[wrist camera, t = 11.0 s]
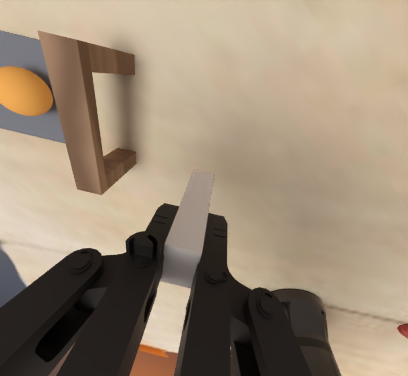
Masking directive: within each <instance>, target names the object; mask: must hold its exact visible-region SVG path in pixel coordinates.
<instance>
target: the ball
mask: <svg viewBox="0 0 408 376" xmlns="http://www.w3.org/2000/svg"><path fill="white" fill-rule="evenodd" d="M0 103H1V104H2V105H3V106H5V107H6V108H8V109H9V110H11V111H13V112H15V113H18V114H21V115H25V116H39V115H42V114H44V113H46V112H47V111H49V109H50V108H51V106H52V103H53V96H52V93H51V90H50V89H49V87H48V85H47V84H46V83H45V82H44V81H43V80H42V79H41V78H40V77H39V76H37V75H36V74H34V73H33V72H31V71H29V70H26V69H24V68H20V67H16V66H4V67H1V68H0Z"/></svg>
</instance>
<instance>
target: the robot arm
mask: <svg viewBox="0 0 408 376" xmlns="http://www.w3.org/2000/svg"><path fill="white" fill-rule="evenodd" d="M213 180H214V175H212V174H208V173H204V172H200V171H195V170H194V171H193V173H192V176H191V178H190V181H189V183H188V186H187V188H186V191H185V194H184V196H183V199H182V201H181V204H180V206H174V205H170V204H166V203H164V204H163V205H161V206H160V207H159V208H158V209H157V211H156V213H155V214H154V216H153V218H152V220H151V222H150V223H149V225H148V227H147V229H146V231H143V232H138V233H135V234H133V235H131V236H130V237H129V238H128V239H127V240H126V253H123V254H118V255H105V256H101V253H100V252H99V251H98V250H96V249H92V248H84V249H80V250H77V251H74V252H73V253H71V254H69V255H68V256H66V257H65V258H64V259H62V260H61V261H60V262H59V263H57V264H56V265H55V266H53V267H52V268H51V269H50V270H48V271H47V272H46V273H45V274H43V275H42V276H41V277H39V278H38V279H37V280H36V281H34V282H33V283H32V284H30V285H29V286H28V287H27V288H25V289H24V290H23V291H22V292H20V293H19V294H18V295H16V296H15V297H14V298H13V299H11V300H10V301H9V302H7V303H6V304H5V305H4V306H2V307H1V308H0V376H48V375H49V374H50V373H51V371H52V370H53V369H54V368H55V367H56V365H57V364H58V363H59V362H60V360H61V359H62V358H63V357H64V355H65V354H66V353H67V352H68V350H69V349H70V348H71V347H72V345H73V344H74V343H75V342H76V343H75V344H74V346H73V348H72V350H71V351H70V353H69V355H68V356H67V358H66V360H65V361H64V363H63V365H62V367H61V368H60V370H59V372H58V374H57V375H56V376H129V375H130V372H131V369H132V366H133V363H134V360H135V357H136V354H137V351H138V348H139V345H140V342H141V339H142V336H143V333H144V330H145V327H146V324H147V321H148V318H149V315H150V312H151V310H152V307H153V304H154V301H155V298H156V294H157V288H158V285H159V282H160V279H161V281H162V282H166V283H170V284H175V285H179V286H183V287H187V288H191V292H190V297H189V300H188V303H187V307H186V315H185V320H184V325H183V331H182V336H181V341H180V347H179V352H178V357H177V363H176V368H175V373H174V376H341V373H340V371H339V368H338V365H337V363H336V360H335V358H334V355H333V352H332V350H331V347H330V344H329V341H328V331H327V321H326V312H325V309H324V307H323V304H322V302H321V300H320V299H319V298H318V297H317V296H316V295H314V294H312V293H309V292H306V291H302V290H294V289H286V290H278V291H274V292H271V291H269V290H267V289H265V288H260V287H259V288H255V289H253V290H251V289H249V288H248V287H246V286H244V285H242V284H241V283H239V282H238V281H237V280H235V279H234V278H233V276H232V275H231V274H230V272H229V270H228V267H227V222H226V220H225V218H224V217H223V216H219V215H215V214H211V213H208V212H209V205H210V199H211V193H212V186H213ZM230 345H231V350H230Z"/></svg>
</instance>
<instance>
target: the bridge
mask: <svg viewBox="0 0 408 376" xmlns="http://www.w3.org/2000/svg"><path fill="white" fill-rule="evenodd" d="M38 34H39V38H40V42H41V46H42V50H43V54H44V58H45V62H46V66H47V70H48V74H49V78H50V82H51V86H52V90H53V94H54V98H55V102H56V106H57V110H58V114H59V118H60V122H61V126H62V130H63V134H64V138H65V142H66V146H67V150H68V154H69V158H70V162H71V166H72V170H73V174H74V178H75V182H76V186H77V189H78V190H82V191H87V192H91V193H95V194H99V195H102V194H103V193H104V192H105V191H107V190H108V189H109V188H110V187H111V186H112V185H113V184H114V183H115V182H117V181H118V180H119V179H120V178H121V177H122V176H123V175H124V174H125V173H127V172H128V171H129V170H130V169H131V168H132V167H133V166H134V165H135V164H136V152H132V151H128V150H124V149H120V148H117V149H115V150H114V151H112V152H110V153H109V154H107V155H105V156H104V157H103V152H102V145H101V137H100V130H99V122H98V115H97V107H96V100H95V92H94V85H93V77H92V72H96V73H114V74H132V75H135V73H134V55H132V54H128V53H125V52H121V51H117V50H113V49H109V48H106V47H102V46H98V45H94V44H90V43H87V42H83V41H79V40H75V39H71V38H67V37H62V36H58V35H54V34H50V33H46V32H41V31H38Z"/></svg>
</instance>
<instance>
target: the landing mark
mask: <svg viewBox="0 0 408 376" xmlns="http://www.w3.org/2000/svg"><path fill="white" fill-rule="evenodd" d="M4 66H16V67H20V68H24V69H26V70H29V71H31V72H33V73H34V74H36V75H37V76H39V77H40V78H41V79H42V80H43V81H44V82H45V83H46V84H47V85H48V87H49V89H50V90H51V93H52V96H53V103H52V106H51V108H50V109H49V111H47V112H46V113H44V114H42V115H39V116H25V115H21V114H18V113H15V112H13V111H11V110H9V109H8V108H6V107H5V106H3V105H2V104H1V103H0V128H2V129H6V130H11V131H15V132H19V133H23V134H28V135H32V136H36V137H40V138H45V139H49V140H53V141H57V142H61V143H66V142H65V138H64V134H63V130H62V126H61V122H60V118H59V114H58V110H57V106H56V102H55V98H54V94H53V90H52V86H51V82H50V78H49V74H48V70H47V66H46V62H45V58H44V54H43V50H42V46H41V42H40V40H37V39H33V38H28V37H24V36H20V35H16V34H12V33H7V32H3V31H0V68H1V67H4Z"/></svg>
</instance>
